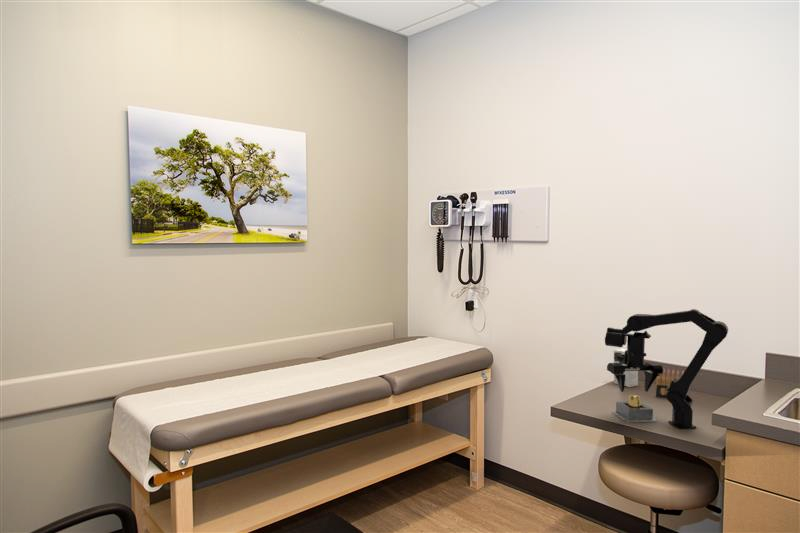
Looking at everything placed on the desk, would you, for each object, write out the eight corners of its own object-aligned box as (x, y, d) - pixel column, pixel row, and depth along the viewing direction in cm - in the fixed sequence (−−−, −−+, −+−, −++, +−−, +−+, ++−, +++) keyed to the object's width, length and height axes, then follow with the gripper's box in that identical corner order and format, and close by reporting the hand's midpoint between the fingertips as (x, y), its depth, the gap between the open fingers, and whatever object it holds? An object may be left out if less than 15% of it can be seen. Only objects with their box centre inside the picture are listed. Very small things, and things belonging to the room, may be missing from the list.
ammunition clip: (655, 396, 219) (656, 368, 218) (655, 395, 220) (656, 367, 220) (684, 400, 214) (686, 371, 213) (684, 399, 216) (685, 370, 215)
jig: (656, 421, 188) (657, 409, 188) (627, 422, 187) (627, 410, 186) (639, 411, 199) (640, 400, 198) (611, 412, 198) (612, 401, 197)
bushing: (642, 416, 191) (642, 397, 191) (632, 417, 190) (632, 397, 190) (636, 413, 195) (636, 394, 195) (626, 413, 194) (626, 394, 194)
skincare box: (638, 385, 235) (639, 351, 235) (628, 387, 232) (629, 352, 231) (621, 381, 243) (622, 347, 242) (612, 383, 239) (613, 349, 239)
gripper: (647, 344, 200) (646, 385, 201) (600, 344, 199) (599, 385, 199) (665, 350, 189) (663, 393, 190) (615, 351, 188) (613, 394, 188)
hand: (634, 391), depth 192 cm, fingers open, 9 cm apart
